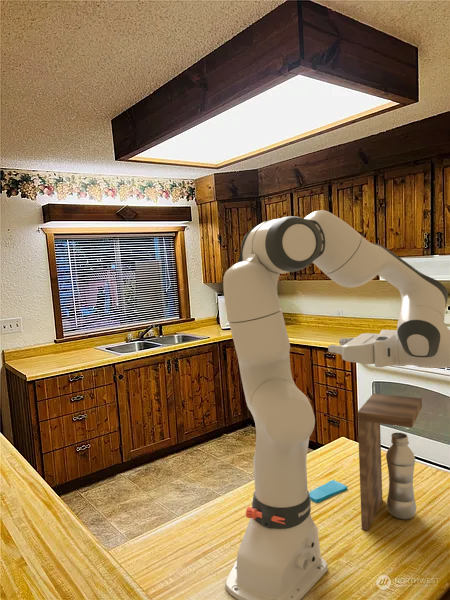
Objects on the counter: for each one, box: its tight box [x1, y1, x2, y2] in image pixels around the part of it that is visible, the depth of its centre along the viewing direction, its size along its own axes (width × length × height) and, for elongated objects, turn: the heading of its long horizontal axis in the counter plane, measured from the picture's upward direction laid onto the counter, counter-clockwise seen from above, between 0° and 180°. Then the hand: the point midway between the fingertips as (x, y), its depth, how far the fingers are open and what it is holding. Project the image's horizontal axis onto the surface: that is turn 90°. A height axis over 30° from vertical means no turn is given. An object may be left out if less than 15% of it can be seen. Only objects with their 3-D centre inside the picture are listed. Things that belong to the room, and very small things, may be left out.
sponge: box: [309, 479, 348, 504], centre depth 122 cm, size 2×12×6 cm
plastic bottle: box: [385, 432, 417, 520], centre depth 108 cm, size 6×7×20 cm
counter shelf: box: [357, 393, 423, 532], centre depth 107 cm, size 15×12×28 cm
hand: (334, 344), depth 120 cm, fingers open, 8 cm apart
